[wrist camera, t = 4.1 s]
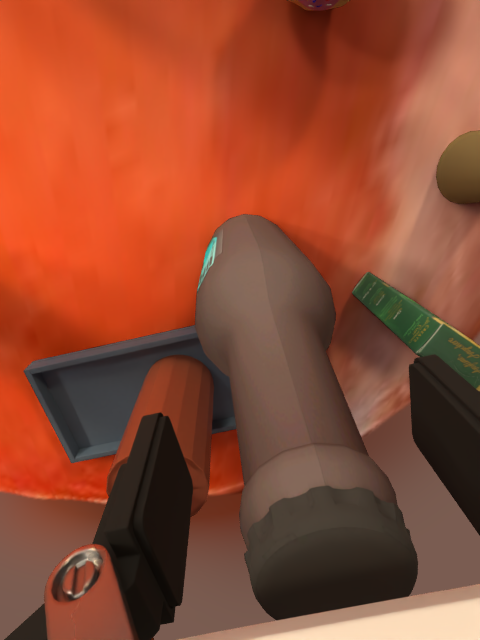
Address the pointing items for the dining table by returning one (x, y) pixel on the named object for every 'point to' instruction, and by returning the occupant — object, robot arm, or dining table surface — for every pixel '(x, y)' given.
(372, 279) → the coffee box
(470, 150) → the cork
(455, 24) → the dining table surface
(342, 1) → the cupcake
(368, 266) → the dining table surface
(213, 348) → the beer bottle
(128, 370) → the tray
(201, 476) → the terracotta bottle
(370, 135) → the dining table surface
